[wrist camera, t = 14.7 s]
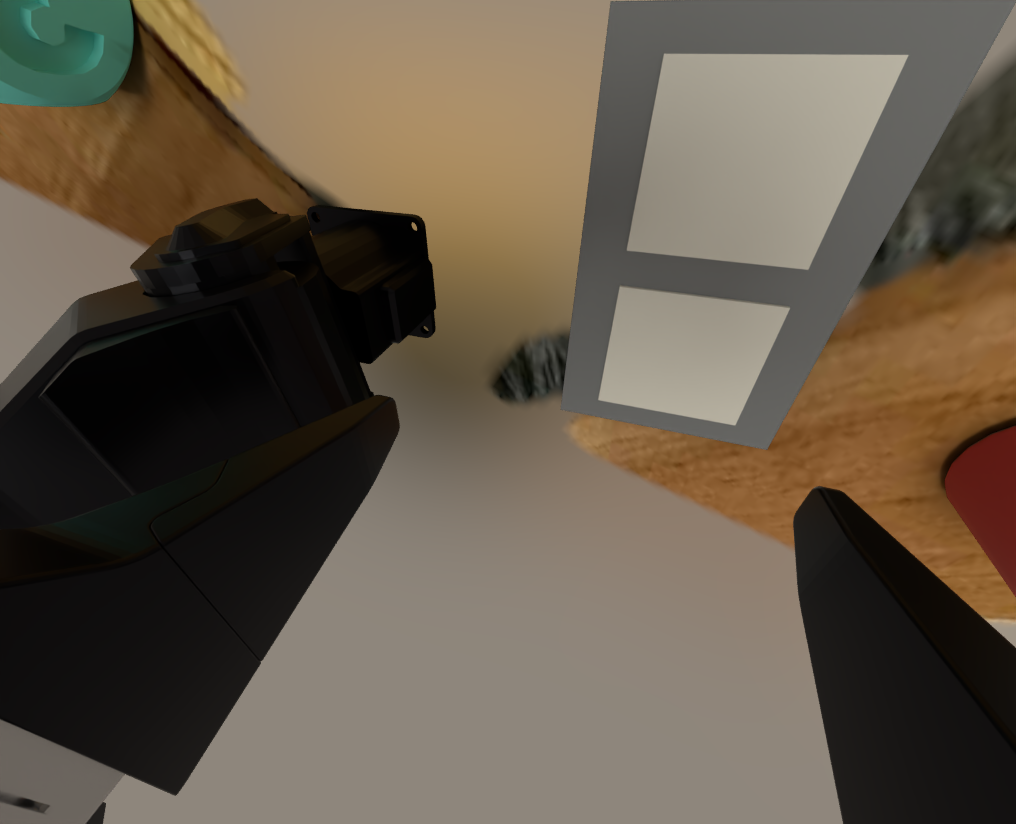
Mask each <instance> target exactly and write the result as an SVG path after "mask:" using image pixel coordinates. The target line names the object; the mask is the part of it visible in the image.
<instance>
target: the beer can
mask: <svg viewBox="0 0 1016 824" xmlns="http://www.w3.org/2000/svg"><path fill="white" fill-rule="evenodd" d="M945 488H946V494H947V498H948V499H949V501H950V502H951V504H952V505H953V506H954V508H955V509H956V511H957V512H958V514H959V515H960V517H961V518H962V520H963V521H964V522H965V524H966V525H967V527H968V528H969V530H970V531H971V533H972V534H973V536H974V537H975V539H976V540H977V541H978V543H979V544H980V546H981V547H982V549H983V550H984V552H985V553H986V555H987V556H988V557H989V559H990V560H991V562H992V563H993V565H994V566H995V568H996V569H997V571H998V572H999V573H1000V575H1001V576H1002V578H1003V579H1004V581H1005V582H1006V584H1007V585H1008V587H1009V588H1010V589H1011V591H1012V592H1013V594H1014V595H1015V597H1016V425H1014V426H1012V427H1009V428H1006V429H1003V430H1000V431H998V432H995V433H992V434H990V435H988V436H987V437H985V438H983V439H981V440H980V441H978V442H976V443H974V444H973V445H971V446H969V447H968V448H967V449H966V450H965V451H964V452H963V453H962V454H961V455H960V456H959V457H958V458H957V459H956V460H955V461H954V462H953V463H952V464H951V466H950V469H949V471H948V473H947V476H946V478H945Z"/></svg>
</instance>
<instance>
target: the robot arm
mask: <svg viewBox="0 0 1016 824" xmlns="http://www.w3.org/2000/svg"><path fill="white" fill-rule="evenodd" d="M316 213H317V214H318V215H319V216H320V220H319V219H318V217H317V215H316ZM307 216H308V220H309V223H308V220H307V218H306V215H299V216H289V214H277V212H273V211H272V210H270V209H269V208H268V207H267V206H266V205H264V204H263V203H262V202H261V201H259V200H258V199H257V198H256V199H248V200H242V201H238V202H235V203H231V204H227V205H223V206H220V207H216V208H213V209H209V210H206V211H204V212H201V213H199V214H197V215H195V216H194V217H192V218H190V219H188V220H186V221H184V222H182V223H181V224H179V225H177V226H175V229H174V231H173V233H172V235H168V236H164V237H161V238H159V239H158V240H157V241H156V242H155V243H154V244H153V245H152V246H151V247H150V248H149V249H147V250H146V252H144V253H143V254H142V255H141V256H140V257H139V258H138V259H137V260H136V261H135V262H134V263H133V264H132V265H131V267H130V269H131V270H132V272H133V273H134V275H135V276H136V278H137V279H138V281H134V282H131V283H128V284H124V285H120V286H117V287H114V288H110V289H107V290H104V291H100V292H97V293H93V294H90V295H87V296H84V297H82V298H79V299H78V300H77V301H75V302H74V303H73V304H72V305H71V306H70V307H69V308H68V309H67V311H66V312H65V313H64V314H63V315H62V316H61V317H60V318H59V320H58V321H57V322H56V323H55V324H54V325H53V326H52V328H51V329H50V330H49V331H48V332H47V333H46V334H45V335H44V336H43V338H42V339H41V340H40V341H39V342H38V343H37V344H36V345H35V347H34V348H33V349H32V350H31V351H30V352H29V353H28V354H27V356H26V357H25V358H24V359H23V360H22V361H21V362H20V363H19V364H18V366H17V367H16V368H15V369H14V370H13V371H12V372H11V373H10V374H9V376H8V377H7V378H6V379H5V380H4V381H3V383H1V384H0V824H103V819H104V813H105V807H106V803H104V802H103V801H104V800H105V799H106V797H107V796H108V795H109V794H110V792H111V791H112V790H113V788H114V787H115V786H116V785H117V784H118V782H119V781H120V780H121V778H122V777H123V776H124V775H125V774H126V775H129V776H131V777H133V778H135V779H138V780H140V781H142V782H145V783H147V784H149V785H152V786H154V787H156V788H158V789H161V790H163V791H165V792H167V793H170V794H172V795H175V796H176V795H177V794H178V793H179V791H180V790H181V788H182V787H183V786H184V784H185V783H186V781H187V780H188V778H189V776H190V775H191V773H192V772H193V770H194V769H195V767H196V765H197V764H198V762H199V761H200V759H201V757H202V756H203V754H204V753H205V751H206V750H207V748H208V746H209V745H210V743H211V742H212V740H213V738H214V737H215V735H216V734H217V732H218V730H219V729H220V727H221V726H222V724H223V723H224V721H225V719H226V718H227V716H228V715H229V713H230V712H231V710H232V708H233V707H234V705H235V703H236V702H237V700H238V699H239V697H240V696H241V694H242V693H243V691H244V689H245V688H246V686H247V685H248V683H249V681H250V680H251V678H252V676H253V675H254V673H255V672H256V670H257V669H258V667H259V666H260V664H261V661H262V660H263V659H264V657H265V656H266V654H267V652H268V651H269V649H270V647H271V646H272V644H273V643H274V641H275V640H276V638H277V637H278V635H279V633H280V632H281V630H282V629H283V627H284V625H285V624H286V622H287V621H288V619H289V618H290V616H291V614H292V613H293V611H294V610H295V608H296V606H297V605H298V603H299V602H300V600H301V599H302V597H303V595H304V594H305V592H306V591H307V589H308V587H309V586H310V584H311V583H312V581H313V579H314V578H315V576H316V575H317V573H318V572H319V570H320V568H321V567H322V565H323V564H324V562H325V560H326V559H327V557H328V556H329V554H330V553H331V551H332V549H333V548H334V546H335V544H336V543H337V541H338V540H339V538H340V537H341V535H342V533H343V532H344V530H345V529H346V527H347V526H348V524H349V522H350V521H351V519H352V517H353V516H354V514H355V513H356V511H357V510H358V508H359V507H360V505H361V503H362V502H363V500H364V499H365V497H366V495H367V494H368V492H369V490H370V489H371V487H372V486H373V484H374V482H375V480H376V478H377V476H378V474H379V472H380V470H381V468H382V466H383V463H384V462H385V460H386V457H387V455H388V453H389V451H390V449H391V447H392V445H393V443H394V441H395V439H396V437H397V435H398V432H399V428H400V425H399V419H398V413H397V408H396V403H395V401H394V399H393V398H391V397H387V396H382V395H375V396H374V394H373V392H371V391H370V389H369V386H368V384H367V381H366V378H365V376H364V373H363V371H362V368H361V366H360V363H359V362H361V363H366V364H371V363H372V362H373V361H375V360H376V359H377V358H378V357H379V356H380V355H381V354H382V353H383V352H384V351H385V350H386V349H387V348H389V347H390V346H391V345H392V344H393V343H400V342H401V341H402V340H403V339H404V338H405V337H407V336H408V335H412V336H417V337H423V338H429V337H431V336H432V335H433V333H434V332H435V318H434V310H435V309H436V301H435V290H434V279H433V269H432V264H431V262H430V261H429V259H428V248H427V238H426V229H425V223H424V221H423V220H422V218H420V217H419V216H417V215H413V214H402V213H393V212H383V211H372V210H362V209H352V208H342V207H332V206H322V205H316V206H313V207H310V208H309V209H308V211H307ZM412 222H413V223H415V224H416V226H417V231H415V230H414V229H413V228H412V225H411V224H412ZM309 224H310V225H309ZM309 231H311V232H312V235H313V236H311V235H310V233H309ZM424 326H426V327H427V328H428V330H429V331H427V330H425V329H424ZM793 527H794V542H795V557H796V571H797V585H798V595H799V601H800V607H801V613H802V617H803V623H804V628H805V633H806V638H807V643H808V648H809V653H810V658H811V663H812V668H813V673H814V678H815V684H816V689H817V693H818V698H819V704H820V709H821V714H822V719H823V724H824V729H825V734H826V739H827V744H828V749H829V754H830V760H831V765H832V769H833V775H834V780H835V785H836V790H837V795H838V799H839V805H840V810H841V815H842V820H843V824H1016V648H1015V647H1014V646H1013V645H1012V644H1011V643H1010V642H1009V641H1008V640H1007V639H1006V638H1004V637H1003V636H1002V635H1001V634H1000V633H999V632H998V631H997V630H996V629H994V628H993V627H992V626H991V625H990V624H989V623H988V622H987V621H986V620H985V619H983V618H982V617H981V616H980V615H979V614H978V613H977V612H976V611H975V610H973V609H972V608H971V607H970V606H969V605H968V604H967V603H966V602H965V601H963V600H962V599H961V598H960V597H959V596H958V595H957V594H956V593H955V592H954V591H952V590H951V589H950V588H949V587H948V586H947V585H946V584H945V583H944V582H942V581H941V580H940V579H939V578H938V577H937V576H936V575H935V574H934V573H933V572H931V571H930V570H929V569H928V568H927V567H926V566H925V565H924V564H923V563H921V562H920V561H919V560H918V559H917V558H916V557H915V556H914V555H913V554H911V553H910V552H909V551H908V550H907V549H906V548H905V547H904V546H903V545H902V544H900V543H899V542H898V541H897V540H896V539H895V538H894V537H893V536H892V535H890V534H889V533H888V532H887V531H886V530H885V529H884V528H883V527H882V526H881V525H879V524H878V523H877V522H876V521H875V520H874V519H873V518H872V517H871V516H869V515H868V514H867V513H866V512H865V511H864V510H863V509H862V508H861V507H859V506H858V505H857V504H856V503H855V502H854V501H853V500H852V499H851V498H850V497H848V496H847V495H846V494H845V493H844V492H842V491H840V490H836V489H831V488H827V487H822V486H818V487H815V488H813V489H812V490H811V492H810V493H809V494H808V496H807V497H806V499H805V500H804V501H803V503H802V504H801V506H800V507H799V509H798V510H797V511H796V513H795V516H794V521H793Z"/></svg>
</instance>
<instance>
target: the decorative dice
mask: <svg viewBox="0 0 1016 824" xmlns="http://www.w3.org/2000/svg"><path fill="white" fill-rule="evenodd" d="M133 44H134V25H133V16H132V10H131V5H130V0H0V103H5V104H16V105H28V106H49V107H71V106H86V105H93V104H98V103H102V102H105V101H107V100H108V99H109V98H110V97H111V96H112V95H113V94H114V93H115V92H116V91H117V89H118V88H119V86H120V85H121V83H122V82H123V80H124V78H125V76H126V74H127V71H128V69H129V65H130V62H131V58H132V52H133Z"/></svg>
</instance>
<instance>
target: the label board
mask: <svg viewBox="0 0 1016 824" xmlns="http://www.w3.org/2000/svg"><path fill="white" fill-rule="evenodd" d="M1015 3H1016V0H657V1H656V0H655V1H615V2H614V1H611V3H610V12H609V19H608V28H607V36H606V44H605V52H604V60H603V69H602V77H601V85H600V93H599V101H598V109H597V118H596V125H595V134H594V142H593V150H592V158H591V166H590V175H589V183H588V191H587V199H586V207H585V215H584V224H583V232H582V240H581V248H580V256H579V265H578V273H577V280H576V289H575V297H574V305H573V313H572V321H571V329H570V337H569V346H568V354H567V362H566V370H565V378H564V386H563V395H562V403H561V410H565V411H570V412H575V413H581V414H586V415H591V416H596V417H601V418H606V419H611V420H617V421H622V422H627V423H632V424H637V425H642V426H647V427H652V428H658V429H663V430H668V431H673V432H678V433H683V434H688V435H694V436H699V437H704V438H709V439H714V440H719V441H724V442H730V443H735V444H740V445H745V446H750V447H755V448H760V449H766V450H767V449H768V447H769V445H770V443H771V441H772V440H773V438H774V436H775V434H776V432H777V431H778V429H779V427H780V425H781V423H782V422H783V420H784V418H785V416H786V414H787V413H788V411H789V409H790V407H791V406H792V404H793V402H794V400H795V398H796V397H797V395H798V393H799V391H800V389H801V388H802V386H803V384H804V382H805V380H806V379H807V377H808V375H809V373H810V371H811V370H812V368H813V366H814V364H815V362H816V361H817V359H818V357H819V355H820V353H821V352H822V350H823V348H824V346H825V344H826V343H827V341H828V339H829V337H830V335H831V334H832V332H833V330H834V328H835V326H836V325H837V323H838V321H839V319H840V317H841V316H842V314H843V312H844V310H845V308H846V307H847V305H848V303H849V301H850V299H851V298H852V296H853V294H854V292H855V290H856V289H857V287H858V285H859V283H860V282H861V280H862V278H863V276H864V274H865V273H866V271H867V269H868V267H869V265H870V264H871V262H872V260H873V258H874V256H875V255H876V253H877V251H878V249H879V247H880V246H881V244H882V242H883V240H884V238H885V237H886V235H887V233H888V231H889V229H890V228H891V226H892V224H893V222H894V220H895V219H896V217H897V215H898V213H899V211H900V210H901V208H902V206H903V204H904V202H905V201H906V199H907V197H908V195H909V193H910V192H911V190H912V188H913V186H914V184H915V183H916V181H917V179H918V177H919V175H920V174H921V172H922V170H923V168H924V166H925V165H926V163H927V161H928V159H929V157H930V156H931V154H932V152H933V150H934V149H935V147H936V145H937V143H938V141H939V140H940V138H941V136H942V134H943V132H944V131H945V129H946V127H947V125H948V123H949V122H950V120H951V118H952V116H953V114H954V113H955V111H956V109H957V107H958V105H959V104H960V102H961V100H962V98H963V96H964V95H965V93H966V91H967V89H968V87H969V86H970V84H971V82H972V80H973V78H974V77H975V75H976V73H977V71H978V69H979V68H980V66H981V64H982V62H983V60H984V59H985V57H986V55H987V53H988V51H989V50H990V48H991V46H992V44H993V42H994V41H995V38H996V37H997V35H998V33H999V32H1000V30H1001V28H1002V26H1003V25H1004V23H1005V21H1006V19H1007V17H1008V15H1009V14H1010V12H1011V10H1012V8H1013V7H1014V5H1015Z"/></svg>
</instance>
